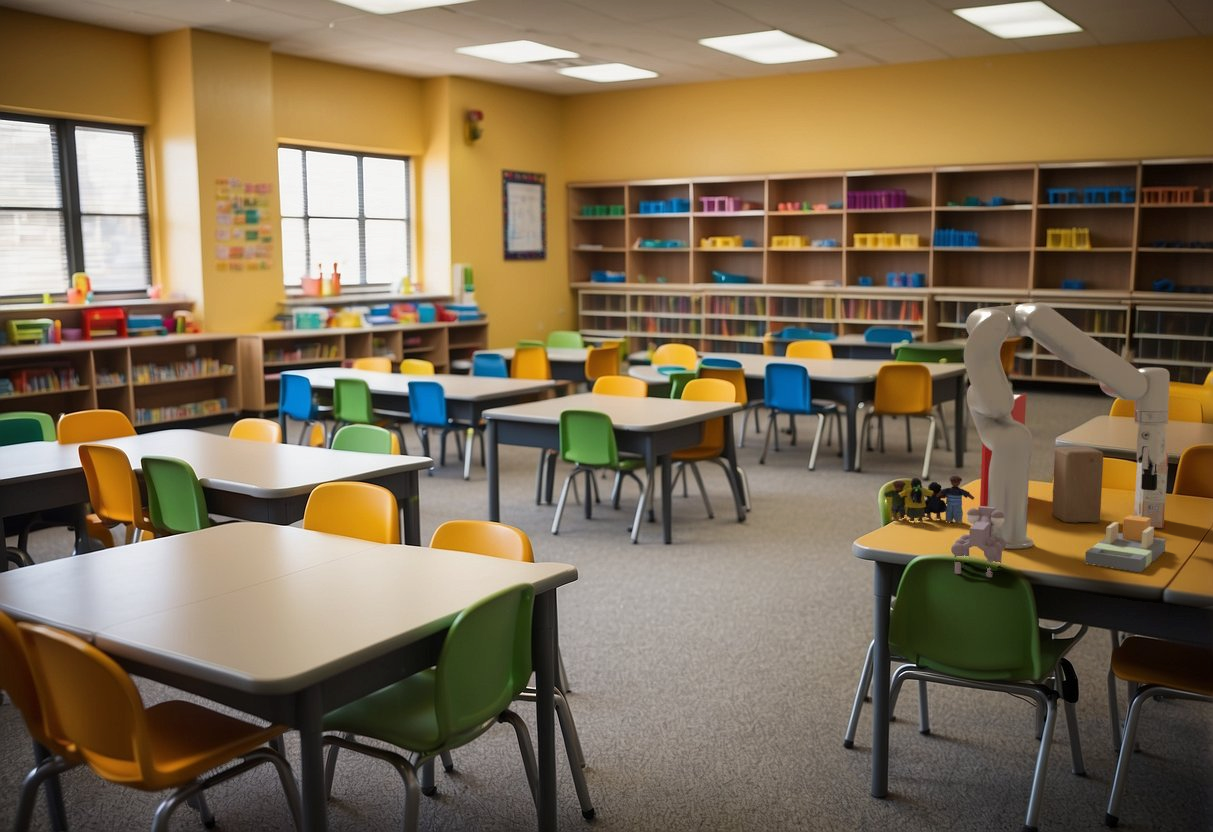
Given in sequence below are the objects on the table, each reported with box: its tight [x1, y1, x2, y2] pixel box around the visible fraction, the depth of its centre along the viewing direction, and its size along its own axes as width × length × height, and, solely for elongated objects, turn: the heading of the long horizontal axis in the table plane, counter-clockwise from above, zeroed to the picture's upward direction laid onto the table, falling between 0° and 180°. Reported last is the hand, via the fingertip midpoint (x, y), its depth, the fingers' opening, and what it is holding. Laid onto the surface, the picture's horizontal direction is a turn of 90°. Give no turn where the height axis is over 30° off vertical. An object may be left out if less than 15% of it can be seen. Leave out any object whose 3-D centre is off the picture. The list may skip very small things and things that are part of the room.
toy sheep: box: [950, 505, 1007, 578], centre depth 254 cm, size 20×11×14 cm, turn 151°
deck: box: [1084, 521, 1167, 573], centre depth 260 cm, size 24×12×7 cm, turn 141°
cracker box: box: [1133, 450, 1170, 530], centre depth 294 cm, size 14×6×21 cm, turn 161°
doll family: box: [883, 475, 975, 524], centre depth 300 cm, size 23×9×13 cm, turn 91°
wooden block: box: [1051, 445, 1104, 523], centre depth 299 cm, size 10×10×20 cm
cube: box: [1122, 514, 1151, 541], centre depth 267 cm, size 5×5×5 cm
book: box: [979, 392, 1027, 507], centre depth 321 cm, size 27×8×32 cm, turn 151°
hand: (1149, 489), depth 272 cm, fingers closed
